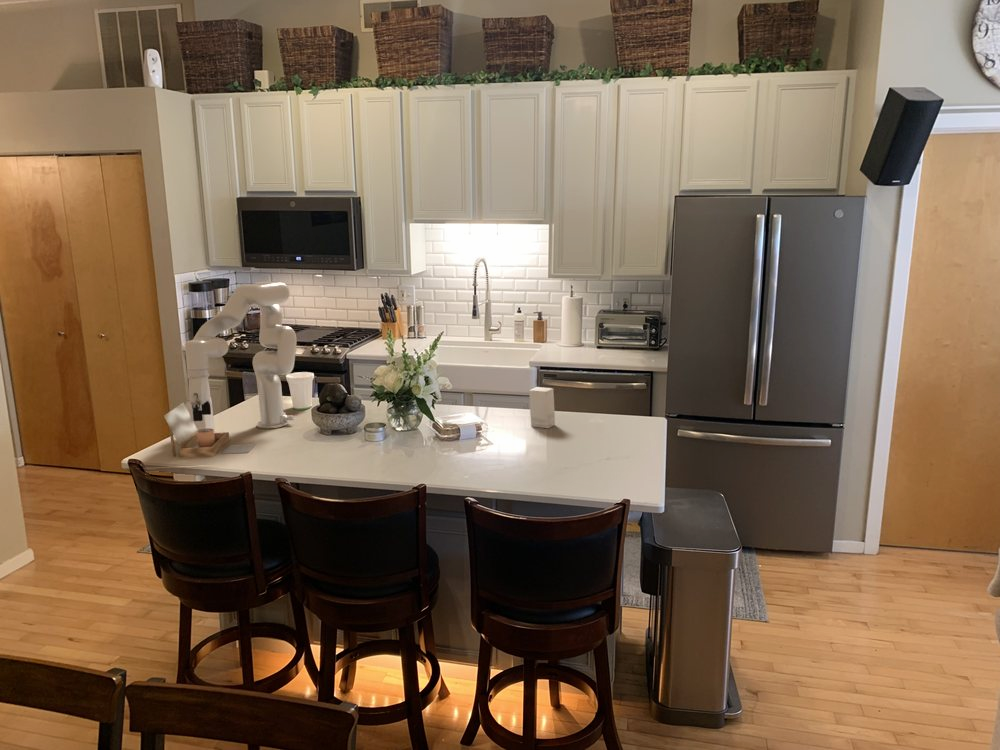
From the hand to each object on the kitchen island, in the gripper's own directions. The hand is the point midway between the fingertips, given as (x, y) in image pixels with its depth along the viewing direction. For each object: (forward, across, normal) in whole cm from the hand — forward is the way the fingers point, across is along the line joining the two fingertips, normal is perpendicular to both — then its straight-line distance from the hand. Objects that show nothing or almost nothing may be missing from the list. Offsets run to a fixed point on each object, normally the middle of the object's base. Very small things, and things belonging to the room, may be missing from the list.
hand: (202, 417), depth 285 cm
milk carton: (+12, -19, -7) cm, 24 cm away
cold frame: (+13, -1, -2) cm, 13 cm away
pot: (+12, -1, 0) cm, 12 cm away
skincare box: (+11, -14, +130) cm, 132 cm away
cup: (+11, -60, +25) cm, 66 cm away
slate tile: (+12, +2, +13) cm, 18 cm away
